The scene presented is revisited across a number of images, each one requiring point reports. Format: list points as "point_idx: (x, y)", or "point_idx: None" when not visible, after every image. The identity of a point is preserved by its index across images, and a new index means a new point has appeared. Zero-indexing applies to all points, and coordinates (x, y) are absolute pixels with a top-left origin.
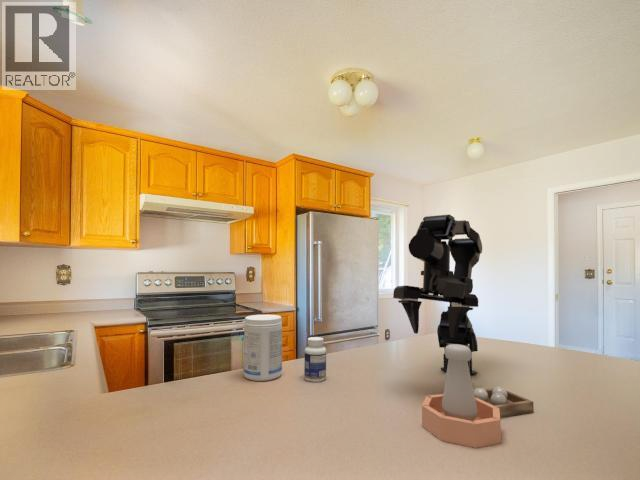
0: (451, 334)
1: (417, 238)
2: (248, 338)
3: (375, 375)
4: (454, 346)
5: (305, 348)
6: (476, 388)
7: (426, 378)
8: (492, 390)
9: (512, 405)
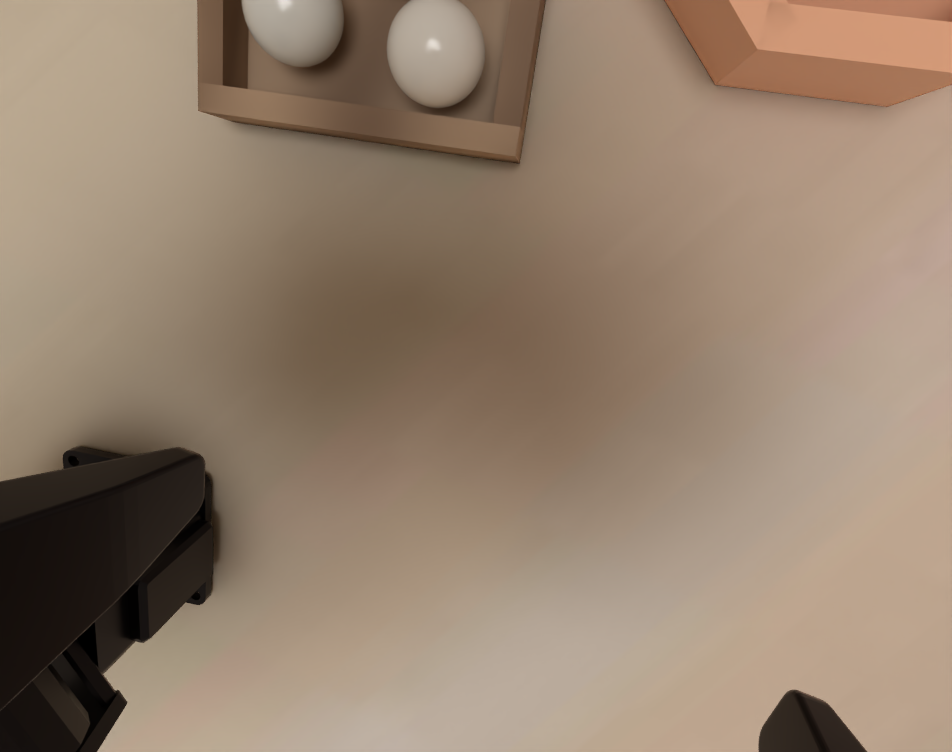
0: (181, 503)
1: None
2: None
3: (628, 709)
4: None
5: None
6: (440, 65)
7: (393, 541)
8: (315, 44)
9: None
